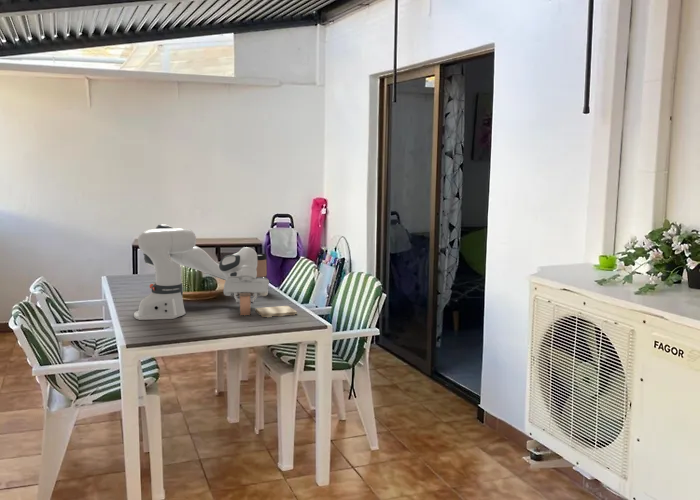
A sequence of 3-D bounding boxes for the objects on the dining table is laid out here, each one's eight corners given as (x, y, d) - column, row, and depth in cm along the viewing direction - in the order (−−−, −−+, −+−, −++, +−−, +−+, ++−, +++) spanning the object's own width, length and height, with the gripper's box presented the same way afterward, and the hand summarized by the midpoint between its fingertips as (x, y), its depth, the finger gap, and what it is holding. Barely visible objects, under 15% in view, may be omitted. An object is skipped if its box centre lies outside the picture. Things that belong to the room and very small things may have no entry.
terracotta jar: (241, 316, 295) (241, 294, 293) (238, 313, 299) (238, 292, 298) (252, 315, 297) (251, 293, 295) (249, 312, 301) (249, 291, 300)
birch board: (263, 317, 293) (263, 314, 293) (255, 311, 305) (255, 308, 304) (296, 314, 299) (296, 311, 299) (288, 308, 311) (288, 305, 311)
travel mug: (249, 292, 347) (249, 254, 344) (257, 289, 354) (257, 253, 351) (261, 293, 344) (261, 256, 341) (269, 291, 350) (269, 254, 347)
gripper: (269, 281, 308) (268, 306, 300) (225, 281, 307) (223, 306, 299) (268, 273, 303) (267, 299, 295) (224, 273, 302) (221, 298, 294)
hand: (245, 302), depth 297 cm, fingers open, 5 cm apart
